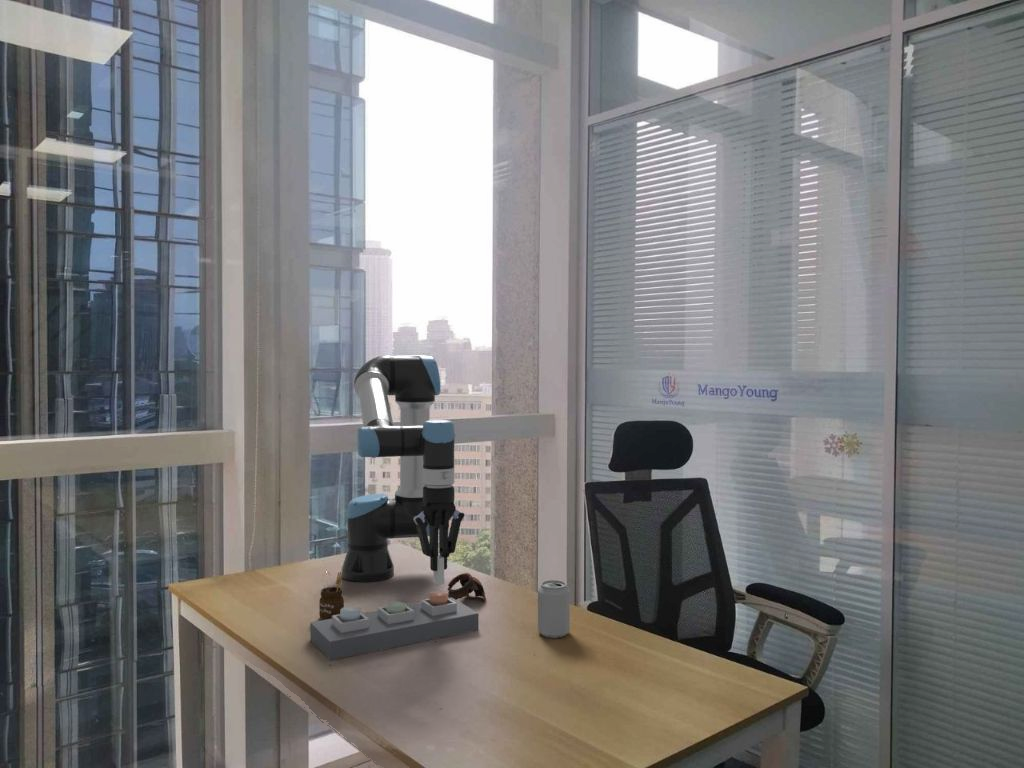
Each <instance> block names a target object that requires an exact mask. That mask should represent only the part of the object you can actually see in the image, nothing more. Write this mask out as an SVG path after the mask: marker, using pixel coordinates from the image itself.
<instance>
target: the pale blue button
mask: <svg viewBox="0 0 1024 768" xmlns="http://www.w3.org/2000/svg"><path fill="white" fill-rule="evenodd" d="M360 612H361V607H359V606H355V605H353V606H344V608H342V609H340V619H341V620H342V621H347V622H350V621H355V620H359V619H360Z"/></svg>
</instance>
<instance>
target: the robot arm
mask: <svg viewBox="0 0 1024 768" xmlns="http://www.w3.org/2000/svg"><path fill="white" fill-rule="evenodd" d="M353 382H354V383H353V386H354V387H353V388H354V392H355V394H356V397H357V398H358V399H359V403H360V405H359V406H360V412H361V418H362V419H361V420H362V426H360V427H358V429H357V433H356V446H357V454H358V455H359V457H361V458H373V459H376V458H391V457H392V458H393V457H399V460H400V461H399V464H400V465H399V467H400V469H399V470H400V471H399V474H400V475H399V476H400V477H399V479H400V480H399V481H400V484H399V488H397V490H396V491H394V498H389V496H388V494H387V493H372V494H371V493H370V494H366V495H361V496H357V497H355V498H353V499H351V500H350V501H349V503H348V504H347V515H346V519H347V551H346V553H345V557H344V560H343V563H342V567H341V572H342V571H343V575H342V579H344V580H347V581H350V582H359V583H362V582H363V583H366V582H367V583H368V582H370V583H371V582H377V581H382V580H387V579H389V578H392V576H394V574H395V567H394V566H395V565H394V563H393V559H392V557H391V554H390V550H389V548H388V547H389V546H388V542H389V540H390V539H405V538H407V539H408V538H418V539H419V544H420V546H421V551H422V554H423V555H425V556H427V557H429V559H430V563H429V565H430V570H431V572H433V584H436V585H437V586H443V585H445V570H447V569H448V558H449V557H450V555H451V554H454V553H455V551H456V547H457V541H458V538H459V533H460V527H461V523H462V521H463V519H464V517H465V513H464V512H462V511H460V510H458V509H457V507H456V505H455V486H454V484H455V437H456V433H455V424H454V422H453V421H452V420H447V419H435V420H434V419H432V420H430V419H431V417H430V415H431V414H430V413H431V412H430V411H431V410H430V409H431V408H430V407H431V406H432V405H433V404H434V403H435V402H436V396H439V395H440V394H441V376H440V370H439V367H438V362H437V361H436V359H435V358H434V357H433V356H431V355H420V354H416V355H413V354H412V355H379V356H376V357H374V358H372V359H370V360H368V361H366V363H364V364H363V365H361V367H360V368H359V370H358V371H357V373H356V375H355V377H354V380H353ZM388 396H395V397H394V398H395V399H394V401H395V403H396V404H397V405H398V406H399V407H400V410H399V411H400V413H399V414H400V415H399V417H400V425H394V421H393V415H392V410H391V406H390V402H389V401H390V400H389V397H388ZM451 518H452V520H451ZM450 520H451V523H450Z"/></svg>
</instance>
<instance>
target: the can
mask: <svg viewBox="0 0 1024 768" xmlns="http://www.w3.org/2000/svg"><path fill="white" fill-rule="evenodd" d="M570 609H571V591H570V588H569V587H568V583H567V582H566V581H564V580H557V579H549V580H544V581H541V582H540V586H539V587H538V589H537V632H538V633H539V634H540V635H541V636H542V635H543V636H542V637H544V636H545V638H548V637H549V639H558V637H561V638H563V637H562V636H564V637H566V636H567V634H569V632H570V629H571V628H570V625H571V623H570V622H571V619H570V618H571V615H570V611H571V610H570ZM550 637H551V638H550Z"/></svg>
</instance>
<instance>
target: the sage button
mask: <svg viewBox="0 0 1024 768" xmlns="http://www.w3.org/2000/svg"><path fill="white" fill-rule="evenodd" d="M385 606H386V612H387V613H389V614H394V613H400V612H405V611H406V603H405V602H402V601H391V602H388V603H386V605H385Z"/></svg>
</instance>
